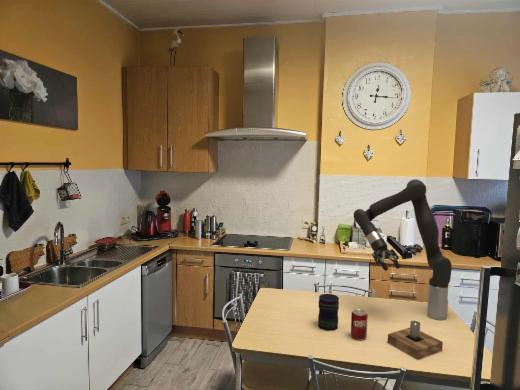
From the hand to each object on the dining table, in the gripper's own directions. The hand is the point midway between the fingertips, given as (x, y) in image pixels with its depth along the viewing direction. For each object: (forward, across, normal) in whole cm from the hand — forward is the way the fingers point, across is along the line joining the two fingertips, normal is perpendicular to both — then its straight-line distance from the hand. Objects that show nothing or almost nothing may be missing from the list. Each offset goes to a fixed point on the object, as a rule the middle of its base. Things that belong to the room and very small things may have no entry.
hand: (392, 269), depth 180 cm
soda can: (+22, -24, +18) cm, 38 cm away
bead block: (+35, -8, +6) cm, 36 cm away
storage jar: (+12, -30, +29) cm, 43 cm away
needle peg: (+35, -8, +6) cm, 36 cm away
